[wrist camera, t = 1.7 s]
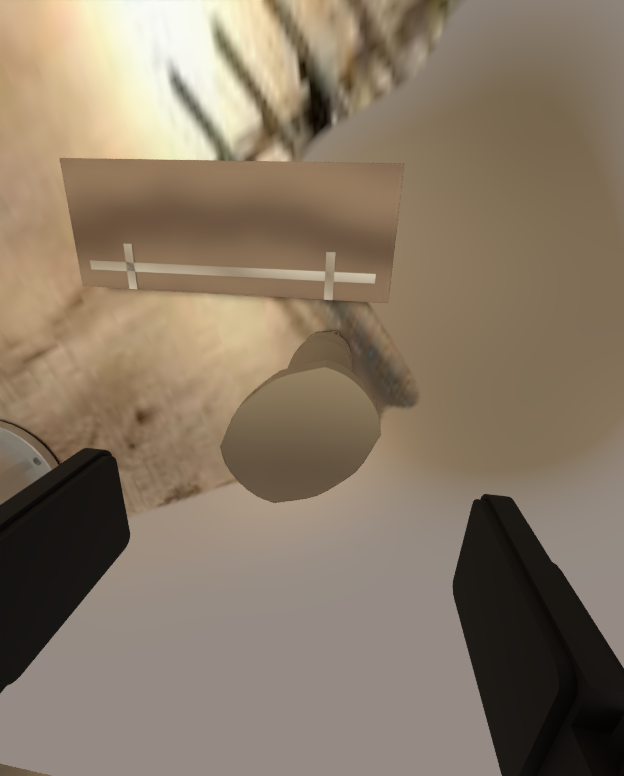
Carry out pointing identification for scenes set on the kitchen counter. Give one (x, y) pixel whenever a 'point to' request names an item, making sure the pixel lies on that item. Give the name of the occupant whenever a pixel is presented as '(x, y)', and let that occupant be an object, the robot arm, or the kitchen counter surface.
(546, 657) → the robot arm
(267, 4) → the kitchen counter surface
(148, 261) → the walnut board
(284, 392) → the handle
